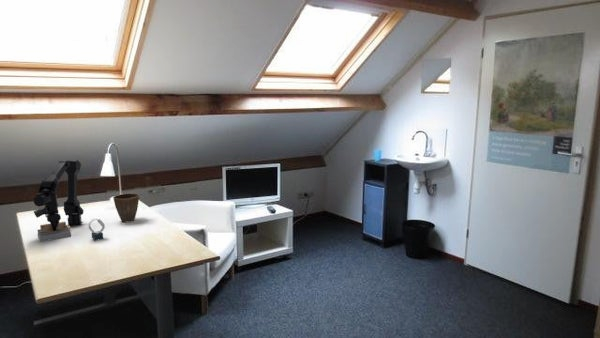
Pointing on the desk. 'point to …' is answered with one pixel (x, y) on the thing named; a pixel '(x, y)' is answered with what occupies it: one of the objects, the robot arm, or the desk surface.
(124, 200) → the plant pot
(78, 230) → the desk surface
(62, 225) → the panel
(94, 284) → the desk surface
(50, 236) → the rack
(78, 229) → the desk surface
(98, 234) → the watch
